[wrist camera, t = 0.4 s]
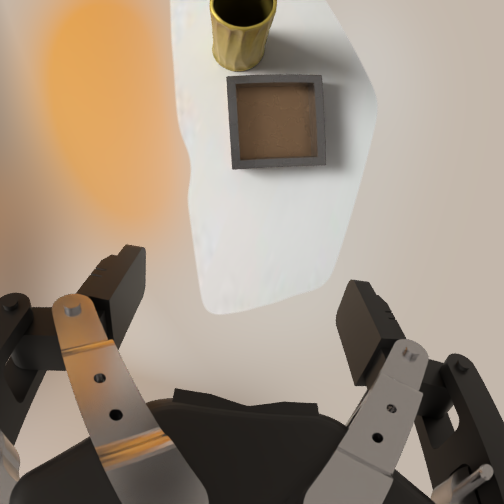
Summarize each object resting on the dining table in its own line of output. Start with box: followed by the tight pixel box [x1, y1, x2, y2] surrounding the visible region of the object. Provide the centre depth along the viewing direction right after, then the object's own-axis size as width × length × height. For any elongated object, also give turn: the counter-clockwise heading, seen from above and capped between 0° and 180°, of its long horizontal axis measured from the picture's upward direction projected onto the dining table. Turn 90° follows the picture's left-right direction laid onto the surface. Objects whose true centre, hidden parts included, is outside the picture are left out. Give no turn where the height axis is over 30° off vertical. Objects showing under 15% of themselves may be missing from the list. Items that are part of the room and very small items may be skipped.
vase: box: [210, 0, 277, 71], centre depth 25 cm, size 6×6×14 cm
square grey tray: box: [226, 75, 326, 169], centre depth 34 cm, size 10×10×4 cm
